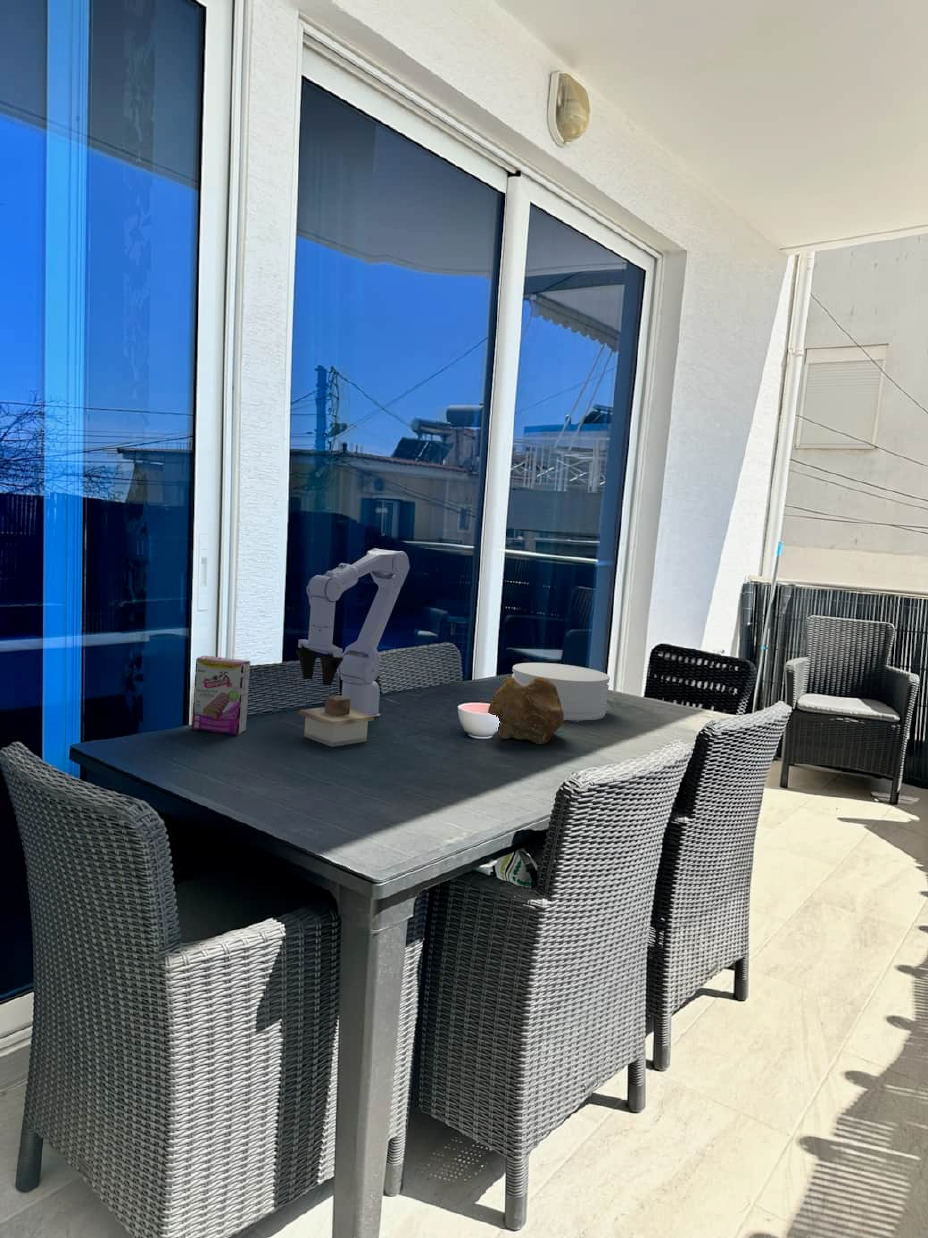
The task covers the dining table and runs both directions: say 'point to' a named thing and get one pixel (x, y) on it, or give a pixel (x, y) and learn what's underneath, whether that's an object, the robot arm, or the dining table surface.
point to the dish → (335, 732)
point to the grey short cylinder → (570, 687)
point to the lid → (336, 712)
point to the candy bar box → (220, 695)
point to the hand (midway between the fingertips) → (317, 682)
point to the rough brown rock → (527, 710)
